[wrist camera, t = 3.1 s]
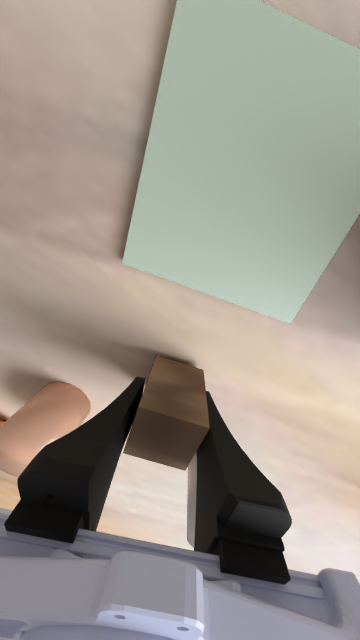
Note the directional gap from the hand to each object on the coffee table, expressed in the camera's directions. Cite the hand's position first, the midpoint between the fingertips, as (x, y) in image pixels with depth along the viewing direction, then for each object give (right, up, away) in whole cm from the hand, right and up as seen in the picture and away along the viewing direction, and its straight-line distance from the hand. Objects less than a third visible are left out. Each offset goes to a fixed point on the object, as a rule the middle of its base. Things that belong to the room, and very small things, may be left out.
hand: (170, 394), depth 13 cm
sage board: (+5, +13, -3) cm, 14 cm away
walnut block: (0, +1, +1) cm, 1 cm away
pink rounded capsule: (-11, -3, +4) cm, 12 cm away
